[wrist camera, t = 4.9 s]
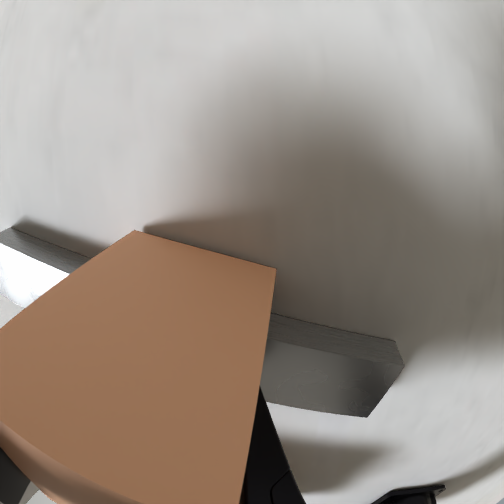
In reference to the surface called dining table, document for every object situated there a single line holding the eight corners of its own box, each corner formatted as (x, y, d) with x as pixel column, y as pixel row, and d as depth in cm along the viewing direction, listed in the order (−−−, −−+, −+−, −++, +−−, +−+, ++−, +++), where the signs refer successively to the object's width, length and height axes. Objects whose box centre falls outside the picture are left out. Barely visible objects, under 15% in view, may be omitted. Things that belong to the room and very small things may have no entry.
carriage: (276, 268, 10) (233, 528, 2) (235, 398, 12) (194, 560, 5) (134, 229, 10) (-49, 373, 3) (131, 364, 12) (49, 498, 5)
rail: (394, 341, 10) (404, 366, 9) (362, 392, 11) (367, 417, 10) (9, 227, 11) (-11, 237, 9) (16, 280, 12) (-2, 292, 11)
